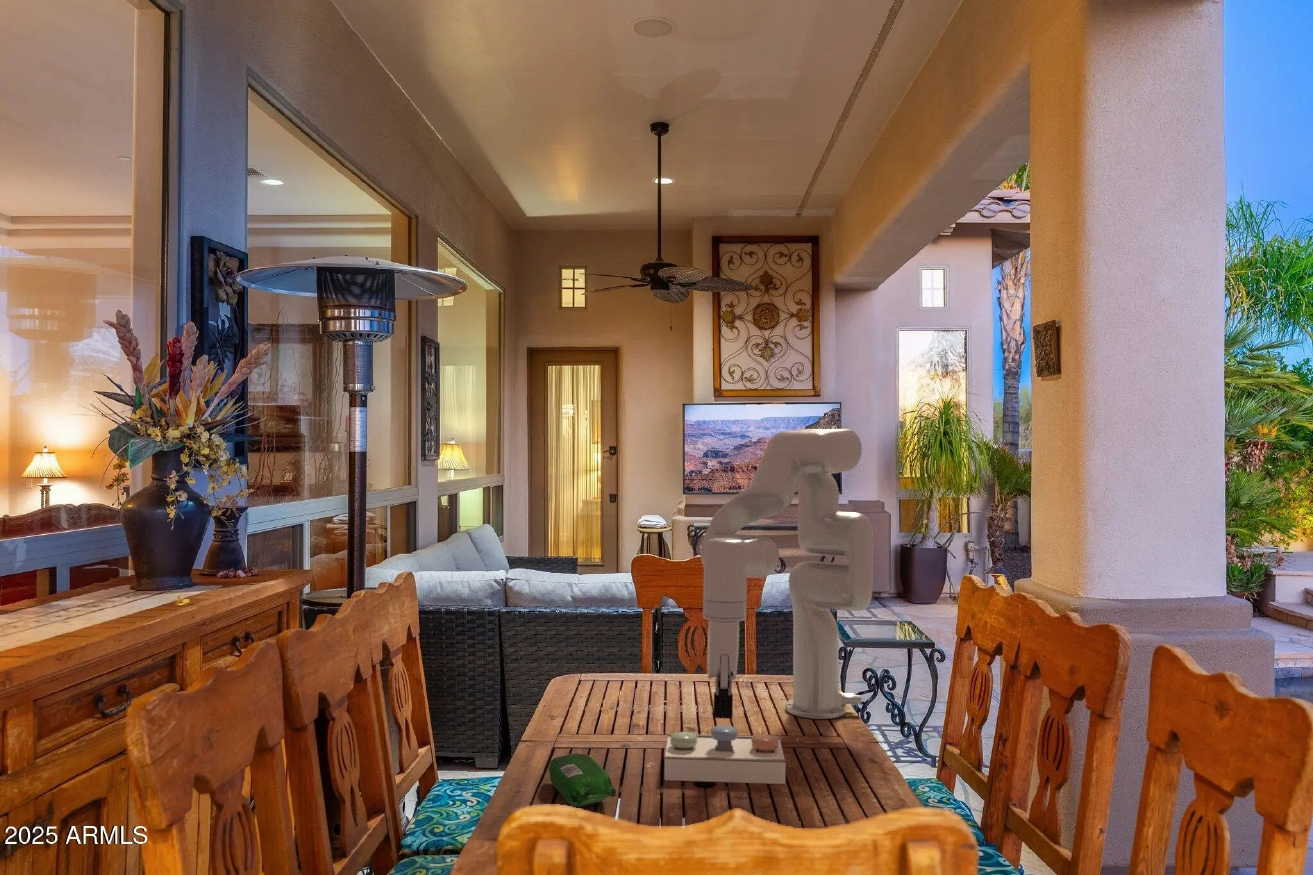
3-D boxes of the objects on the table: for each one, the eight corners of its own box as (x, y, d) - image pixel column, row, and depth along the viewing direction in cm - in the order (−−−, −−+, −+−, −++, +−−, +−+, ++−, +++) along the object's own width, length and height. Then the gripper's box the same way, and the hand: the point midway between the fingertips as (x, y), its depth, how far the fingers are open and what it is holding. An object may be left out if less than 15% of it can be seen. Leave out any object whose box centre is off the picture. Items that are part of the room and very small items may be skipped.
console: (779, 758, 152) (779, 736, 152) (785, 783, 140) (785, 760, 140) (668, 754, 153) (668, 733, 153) (664, 780, 141) (664, 757, 141)
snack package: (573, 820, 126) (574, 784, 126) (543, 781, 140) (544, 750, 140) (618, 812, 129) (618, 778, 129) (584, 776, 143) (585, 745, 143)
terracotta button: (777, 755, 148) (777, 734, 148) (779, 764, 143) (779, 743, 143) (750, 754, 148) (750, 733, 148) (752, 764, 144) (752, 742, 144)
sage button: (697, 752, 149) (697, 732, 149) (696, 762, 144) (696, 741, 144) (671, 752, 149) (671, 731, 149) (669, 761, 145) (670, 740, 145)
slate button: (737, 746, 148) (737, 725, 149) (738, 755, 144) (738, 734, 144) (710, 745, 149) (710, 725, 149) (710, 754, 144) (711, 733, 144)
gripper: (703, 602, 154) (701, 704, 154) (702, 616, 139) (700, 729, 139) (744, 603, 154) (743, 705, 153) (748, 618, 139) (746, 731, 138)
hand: (722, 716), depth 146 cm, fingers closed
